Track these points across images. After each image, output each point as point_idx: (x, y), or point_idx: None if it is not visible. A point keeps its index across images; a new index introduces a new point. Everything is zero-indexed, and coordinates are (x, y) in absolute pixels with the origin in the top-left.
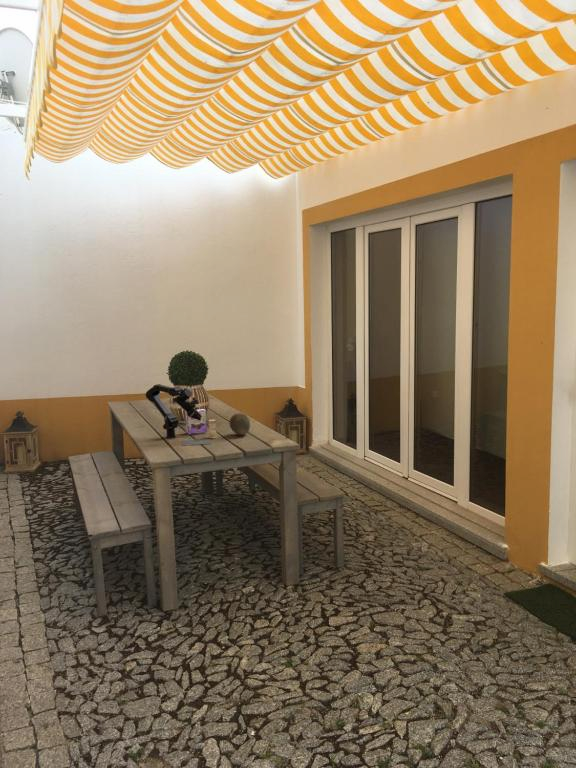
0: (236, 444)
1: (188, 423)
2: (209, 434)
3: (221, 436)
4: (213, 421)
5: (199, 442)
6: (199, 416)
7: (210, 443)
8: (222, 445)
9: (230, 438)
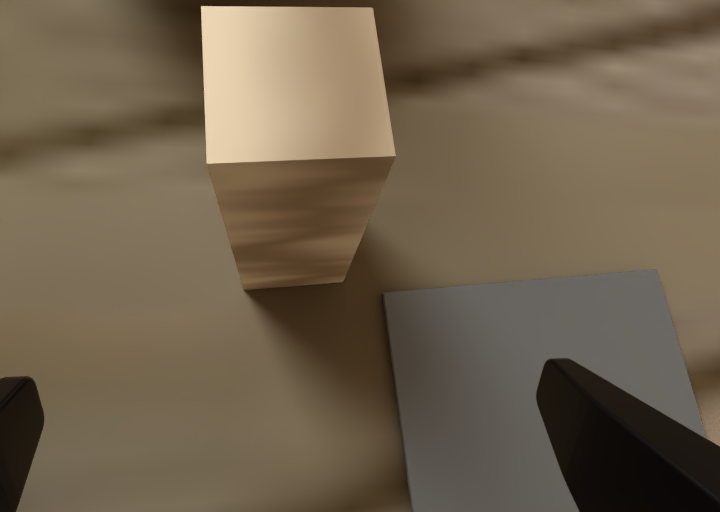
0: (659, 11)
1: None
2: (310, 269)
3: None
4: (379, 64)
5: None
6: (14, 455)
7: (656, 269)
8: (706, 142)
9: None
